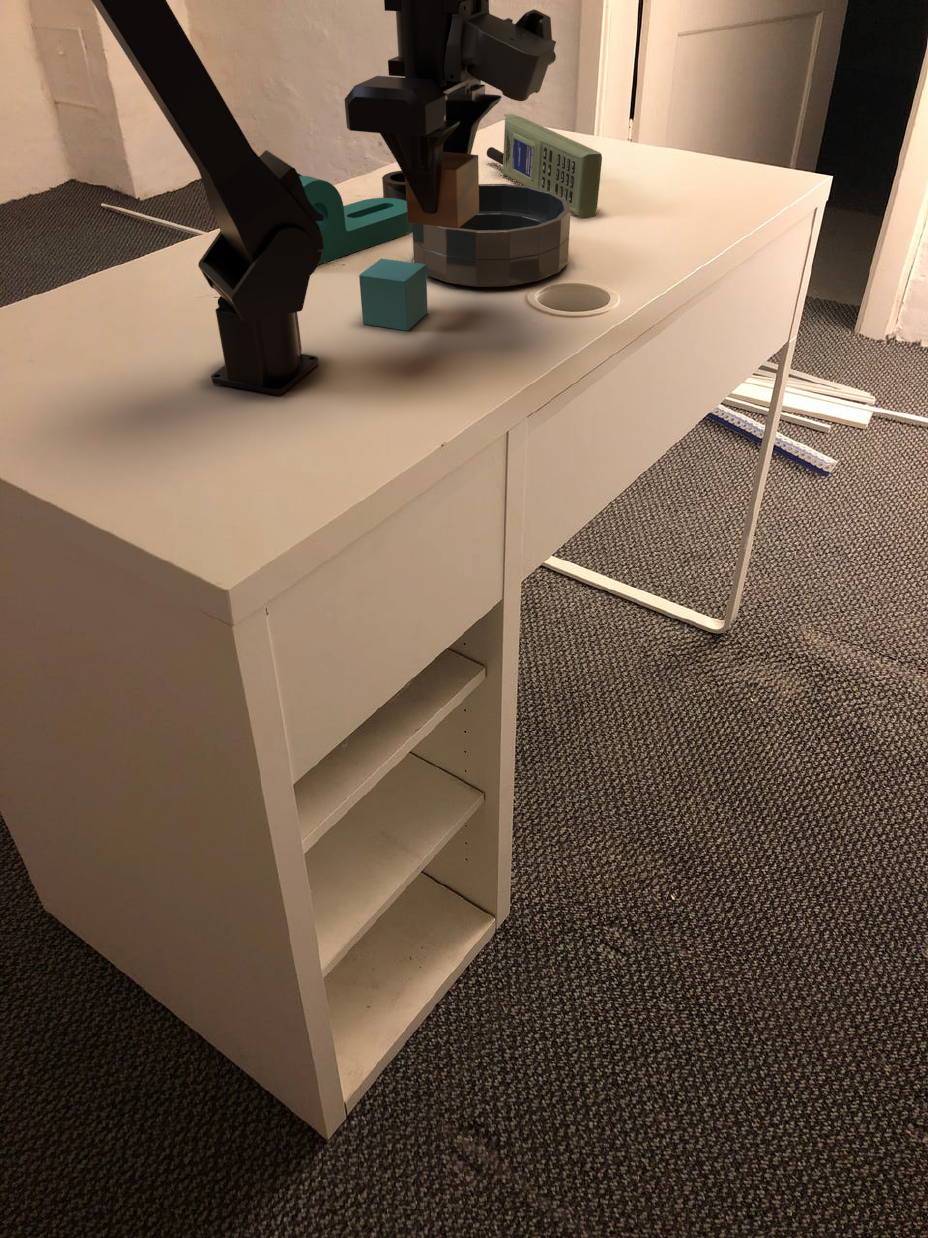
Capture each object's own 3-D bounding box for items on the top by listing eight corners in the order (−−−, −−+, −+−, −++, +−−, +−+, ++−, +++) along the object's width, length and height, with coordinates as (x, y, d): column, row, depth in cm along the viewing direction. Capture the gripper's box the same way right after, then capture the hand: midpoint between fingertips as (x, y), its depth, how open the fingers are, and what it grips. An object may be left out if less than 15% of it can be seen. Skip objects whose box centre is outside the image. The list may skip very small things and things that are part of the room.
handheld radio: (575, 219, 110) (477, 164, 128) (600, 216, 111) (500, 161, 129) (581, 154, 106) (479, 106, 123) (607, 151, 107) (503, 104, 125)
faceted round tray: (538, 300, 92) (540, 239, 88) (389, 279, 96) (385, 221, 93) (585, 247, 103) (588, 191, 99) (449, 231, 107) (448, 177, 104)
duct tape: (354, 208, 114) (352, 181, 112) (411, 187, 120) (410, 161, 118) (405, 220, 110) (404, 193, 108) (461, 198, 116) (461, 172, 114)
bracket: (296, 272, 98) (286, 188, 93) (254, 256, 102) (243, 175, 97) (425, 227, 108) (422, 149, 103) (383, 214, 112) (378, 139, 107)
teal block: (407, 331, 87) (405, 281, 84) (362, 324, 88) (358, 274, 85) (427, 312, 90) (426, 263, 87) (384, 306, 91) (381, 257, 88)
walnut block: (457, 228, 78) (456, 169, 75) (407, 222, 79) (404, 164, 77) (479, 212, 81) (478, 154, 78) (430, 206, 82) (428, 149, 80)
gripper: (489, -4, 61) (491, 254, 70) (585, -40, 74) (575, 181, 84) (330, -10, 64) (352, 236, 74) (448, -44, 77) (454, 169, 87)
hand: (442, 204), depth 80 cm, fingers closed on walnut block, 4 cm apart
